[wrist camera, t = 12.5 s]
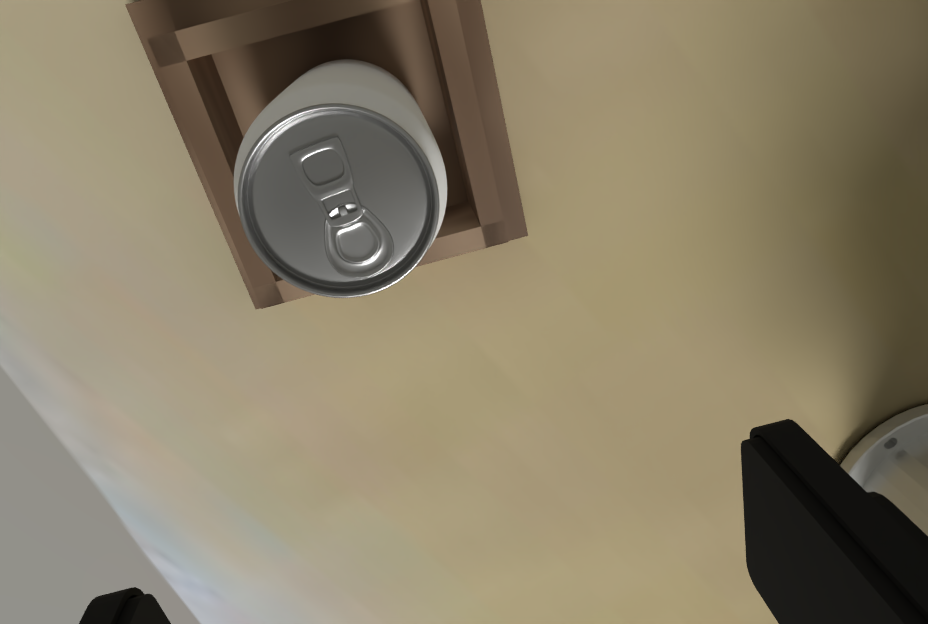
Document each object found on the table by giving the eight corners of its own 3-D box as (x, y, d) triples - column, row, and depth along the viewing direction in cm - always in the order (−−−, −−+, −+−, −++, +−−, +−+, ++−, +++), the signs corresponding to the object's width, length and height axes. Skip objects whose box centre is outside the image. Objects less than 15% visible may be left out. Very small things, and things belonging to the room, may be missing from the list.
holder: (459, -81, 27) (478, -100, 22) (522, 228, 33) (547, 264, 28) (134, 4, 27) (85, 3, 22) (259, 299, 33) (241, 347, 28)
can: (316, 225, 30) (286, 341, 20) (251, 89, 28) (174, 138, 17) (444, 176, 30) (484, 266, 19) (392, 35, 27) (405, 48, 17)
